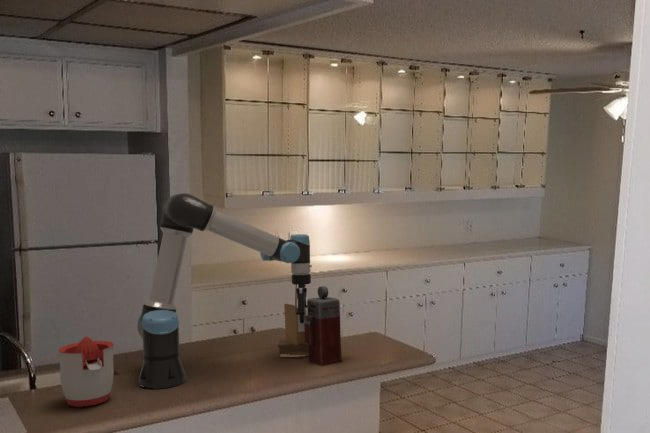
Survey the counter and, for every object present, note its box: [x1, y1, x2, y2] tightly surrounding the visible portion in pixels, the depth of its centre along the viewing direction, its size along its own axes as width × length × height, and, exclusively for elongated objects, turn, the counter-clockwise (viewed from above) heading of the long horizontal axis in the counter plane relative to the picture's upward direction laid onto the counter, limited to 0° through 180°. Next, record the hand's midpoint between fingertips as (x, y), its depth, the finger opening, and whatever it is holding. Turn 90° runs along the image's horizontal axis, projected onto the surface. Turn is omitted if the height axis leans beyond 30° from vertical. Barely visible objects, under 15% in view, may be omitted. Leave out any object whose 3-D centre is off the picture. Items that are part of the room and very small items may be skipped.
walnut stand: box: [277, 337, 309, 356], centre depth 233 cm, size 12×19×5 cm, turn 90°
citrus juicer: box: [57, 336, 115, 408], centre depth 180 cm, size 16×17×20 cm
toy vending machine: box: [304, 285, 342, 367], centre depth 219 cm, size 9×11×28 cm
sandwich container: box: [284, 303, 306, 345], centre depth 234 cm, size 9×15×15 cm, turn 124°
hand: (302, 327), depth 233 cm, fingers open, 13 cm apart
